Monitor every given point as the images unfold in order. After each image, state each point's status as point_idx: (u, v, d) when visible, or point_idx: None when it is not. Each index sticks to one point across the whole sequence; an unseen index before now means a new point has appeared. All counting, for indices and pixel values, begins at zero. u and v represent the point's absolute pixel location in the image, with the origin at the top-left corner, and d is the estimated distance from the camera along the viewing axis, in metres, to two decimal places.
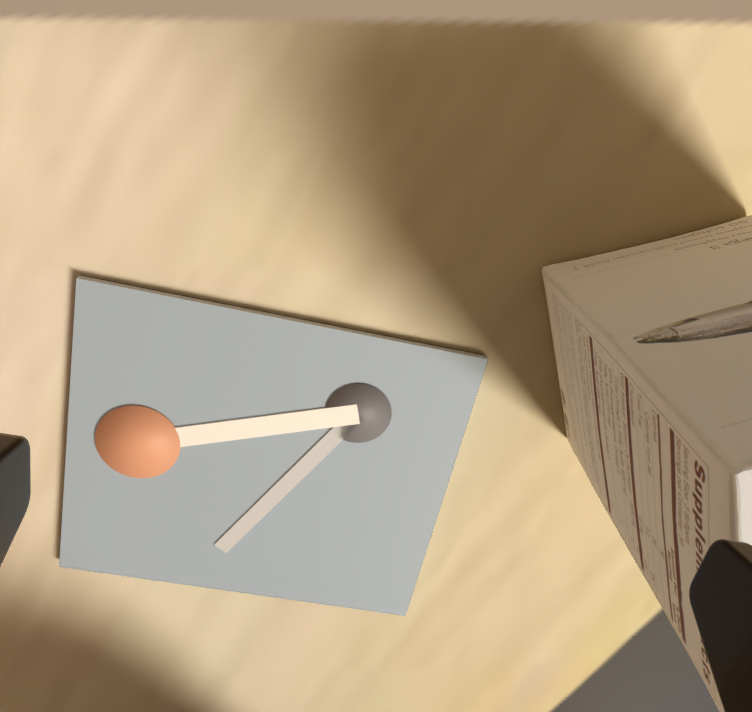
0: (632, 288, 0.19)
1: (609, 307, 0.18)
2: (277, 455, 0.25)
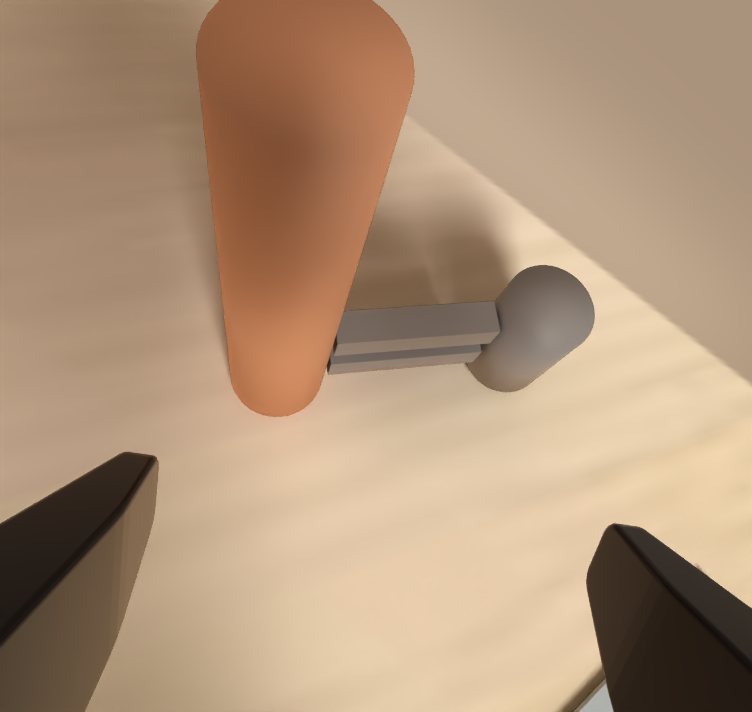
0: None
1: None
2: None
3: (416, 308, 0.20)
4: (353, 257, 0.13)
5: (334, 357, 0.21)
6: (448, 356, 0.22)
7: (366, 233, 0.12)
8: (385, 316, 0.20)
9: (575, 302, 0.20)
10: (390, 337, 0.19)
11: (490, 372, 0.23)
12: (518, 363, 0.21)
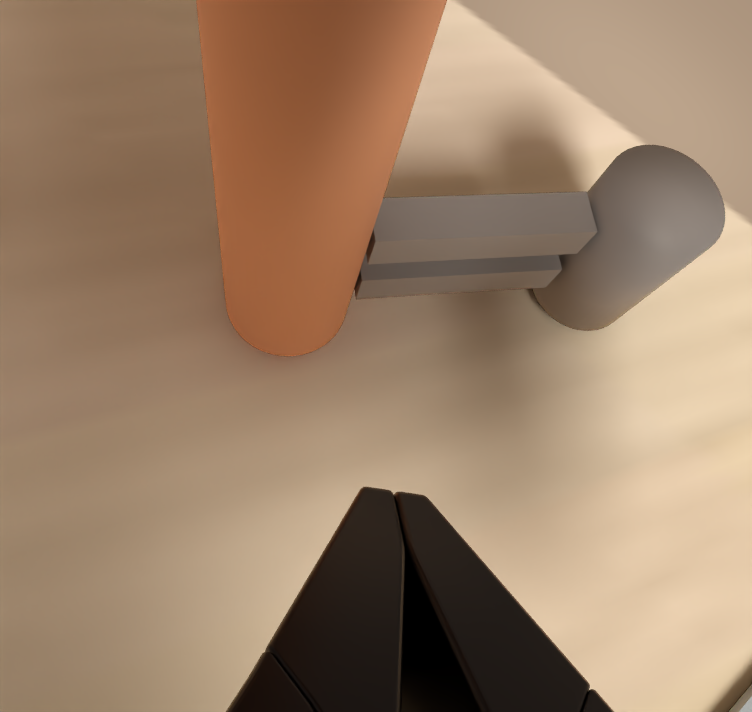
0: None
1: None
2: None
3: (482, 198, 0.14)
4: (435, 0, 0.07)
5: (366, 271, 0.15)
6: (518, 274, 0.16)
7: None
8: (441, 206, 0.14)
9: (698, 193, 0.15)
10: (448, 234, 0.14)
11: (569, 300, 0.17)
12: (616, 281, 0.15)
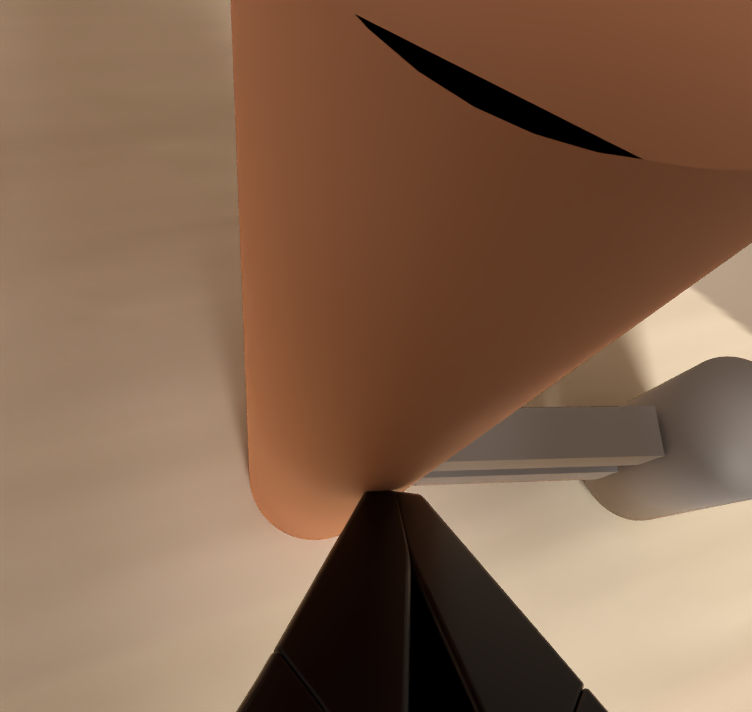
0: None
1: None
2: None
3: (540, 411, 0.13)
4: None
5: None
6: (569, 474, 0.15)
7: None
8: None
9: None
10: (499, 455, 0.12)
11: (622, 497, 0.16)
12: (678, 498, 0.14)
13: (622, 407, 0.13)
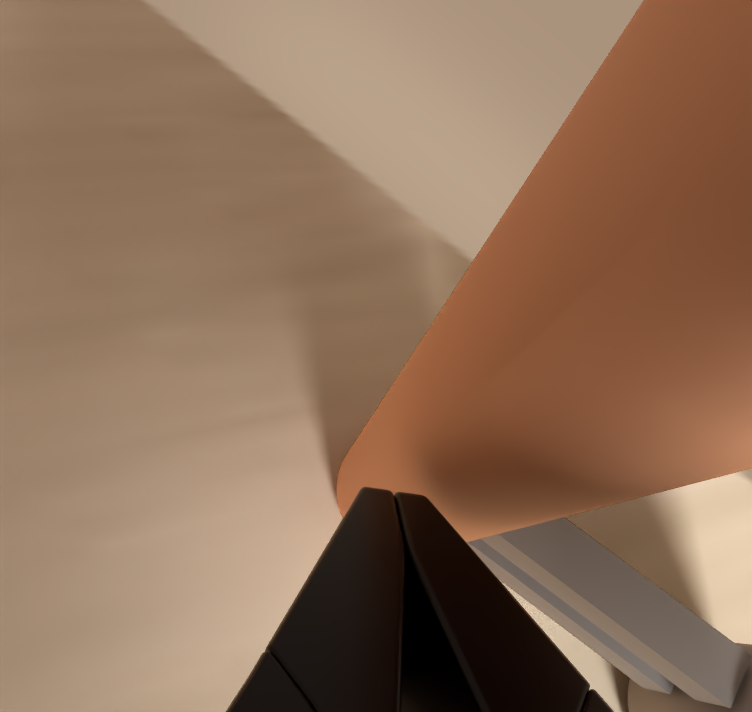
0: None
1: None
2: None
3: (635, 575, 0.12)
4: (666, 489, 0.06)
5: None
6: (620, 659, 0.13)
7: None
8: (587, 551, 0.12)
9: None
10: (572, 584, 0.12)
11: None
12: None
13: (717, 632, 0.12)
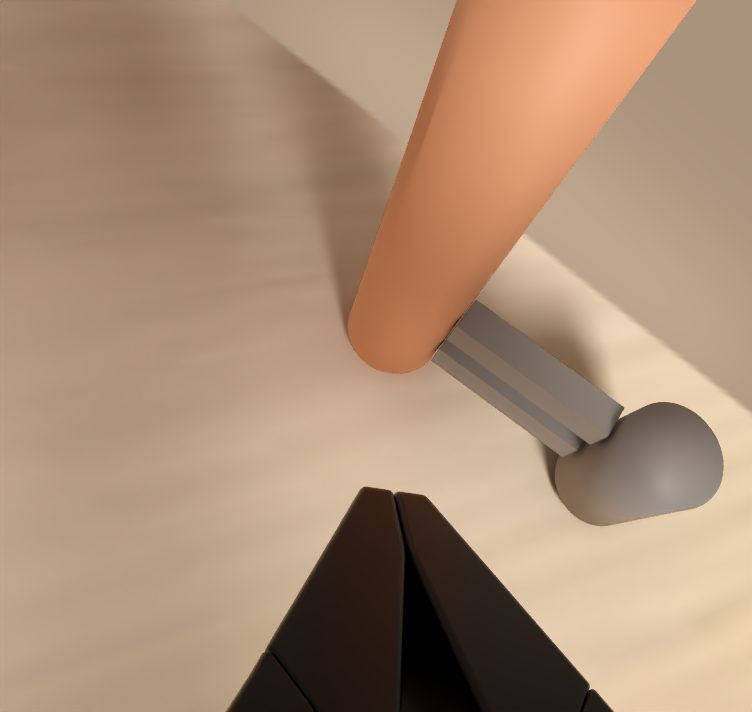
0: None
1: None
2: None
3: (548, 355, 0.18)
4: (516, 197, 0.12)
5: (446, 346, 0.20)
6: (544, 429, 0.20)
7: (543, 181, 0.12)
8: (516, 339, 0.18)
9: (702, 470, 0.17)
10: (505, 358, 0.18)
11: (570, 479, 0.20)
12: (602, 484, 0.18)
13: (602, 393, 0.18)
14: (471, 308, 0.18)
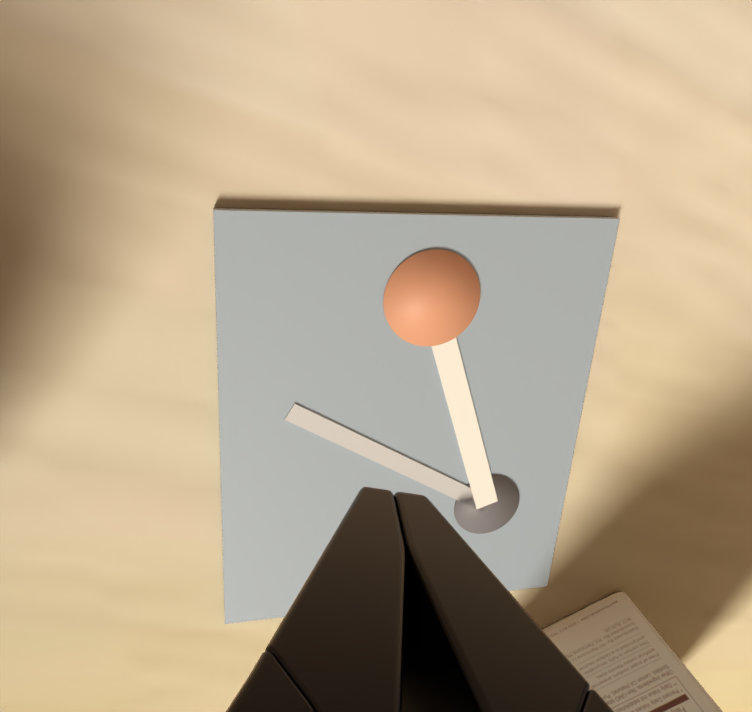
0: None
1: None
2: (430, 444, 0.22)
3: None
4: None
5: None
6: None
7: None
8: None
9: None
10: None
11: None
12: None
13: None
14: None
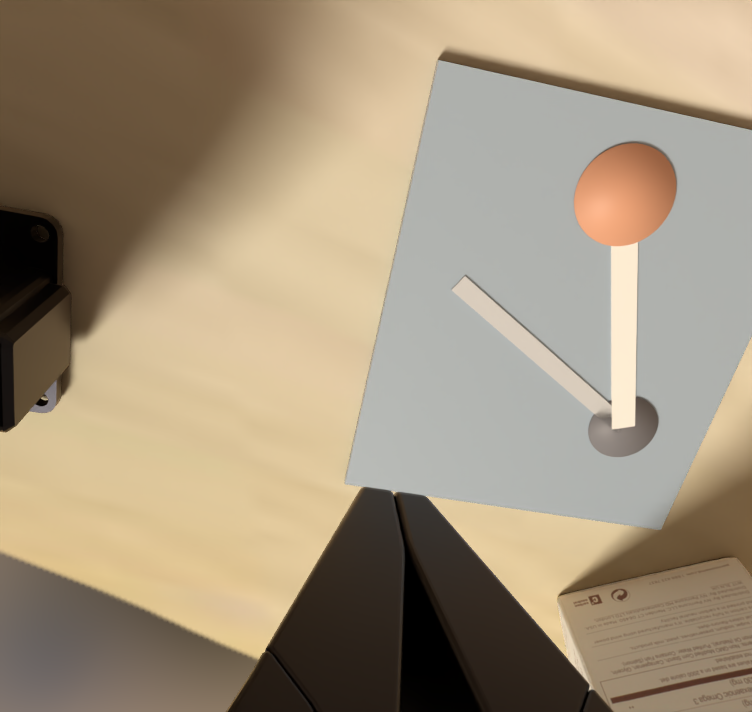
0: None
1: None
2: (583, 350, 0.22)
3: None
4: None
5: None
6: None
7: None
8: None
9: None
10: None
11: None
12: None
13: None
14: None
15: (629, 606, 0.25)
